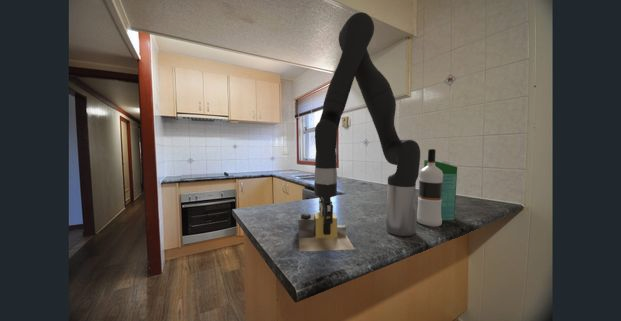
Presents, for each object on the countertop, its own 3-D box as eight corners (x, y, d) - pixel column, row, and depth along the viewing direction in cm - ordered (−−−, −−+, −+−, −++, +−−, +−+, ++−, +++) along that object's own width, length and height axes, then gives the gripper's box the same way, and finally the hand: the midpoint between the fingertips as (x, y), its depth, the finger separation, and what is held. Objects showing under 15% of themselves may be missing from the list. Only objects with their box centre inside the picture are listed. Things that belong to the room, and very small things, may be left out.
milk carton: (454, 220, 87) (457, 161, 85) (432, 220, 87) (435, 161, 85) (441, 213, 96) (444, 159, 94) (421, 213, 96) (424, 159, 94)
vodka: (410, 221, 86) (413, 148, 84) (424, 217, 90) (428, 148, 88) (432, 229, 78) (436, 149, 76) (447, 225, 82) (451, 149, 80)
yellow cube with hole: (333, 229, 74) (333, 210, 73) (337, 237, 67) (337, 216, 67) (313, 230, 73) (313, 210, 72) (315, 238, 67) (315, 216, 66)
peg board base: (341, 230, 76) (342, 209, 75) (354, 253, 60) (355, 226, 59) (298, 232, 74) (298, 210, 74) (299, 255, 58) (299, 228, 58)
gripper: (312, 177, 76) (312, 222, 77) (317, 185, 61) (316, 239, 63) (332, 177, 76) (332, 221, 77) (341, 185, 62) (341, 239, 63)
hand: (325, 229), depth 70 cm, fingers open, 6 cm apart
